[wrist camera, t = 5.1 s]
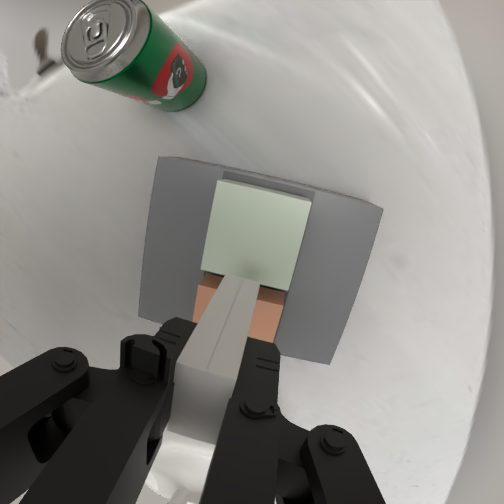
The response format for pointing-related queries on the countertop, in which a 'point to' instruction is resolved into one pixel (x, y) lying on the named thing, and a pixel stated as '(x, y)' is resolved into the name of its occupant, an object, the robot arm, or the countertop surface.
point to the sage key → (255, 233)
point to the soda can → (132, 54)
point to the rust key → (264, 310)
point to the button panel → (295, 299)
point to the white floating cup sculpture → (180, 468)
